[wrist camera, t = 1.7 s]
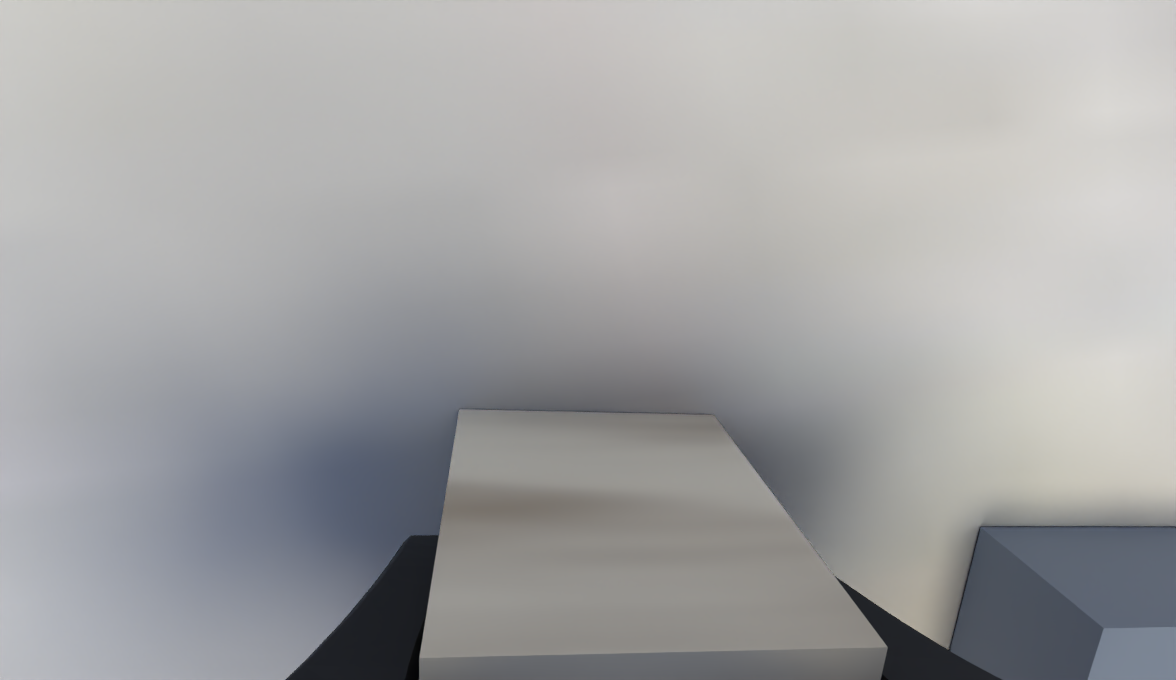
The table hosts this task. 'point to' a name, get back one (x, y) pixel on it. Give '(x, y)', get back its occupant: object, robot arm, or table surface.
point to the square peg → (627, 559)
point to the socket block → (1071, 604)
